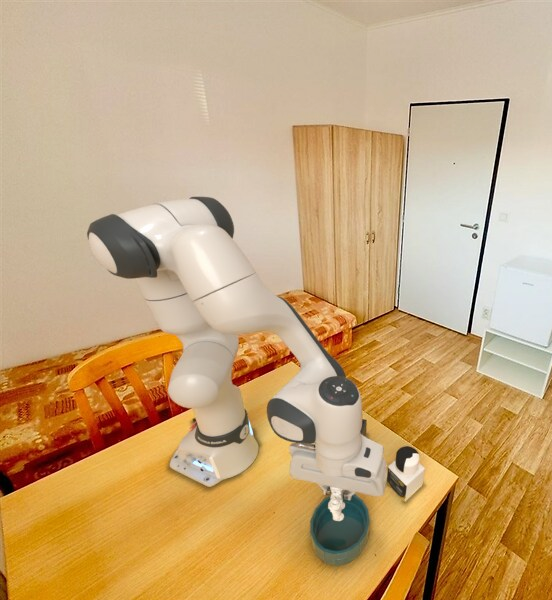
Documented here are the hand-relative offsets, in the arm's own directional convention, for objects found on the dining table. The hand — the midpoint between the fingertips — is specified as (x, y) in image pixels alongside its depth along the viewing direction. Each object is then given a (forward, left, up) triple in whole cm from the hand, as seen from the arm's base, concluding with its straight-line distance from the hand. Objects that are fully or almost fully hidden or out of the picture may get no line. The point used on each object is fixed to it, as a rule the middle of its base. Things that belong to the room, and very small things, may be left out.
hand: (338, 494), depth 69 cm
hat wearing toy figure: (0, 0, -6) cm, 6 cm away
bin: (-7, +23, -14) cm, 28 cm away
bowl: (0, 0, -14) cm, 14 cm away
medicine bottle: (+13, +15, -14) cm, 24 cm away
